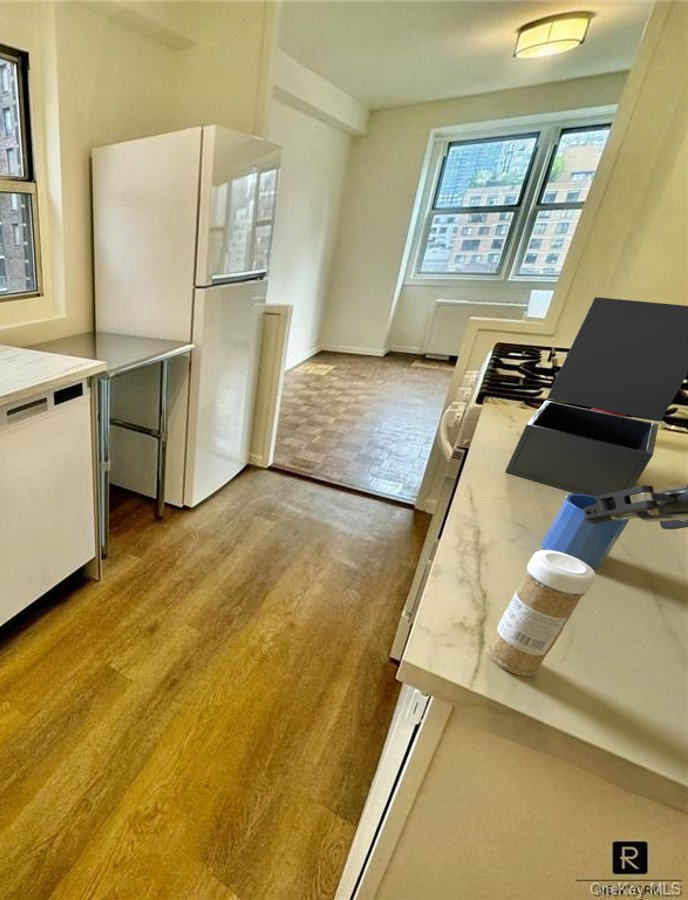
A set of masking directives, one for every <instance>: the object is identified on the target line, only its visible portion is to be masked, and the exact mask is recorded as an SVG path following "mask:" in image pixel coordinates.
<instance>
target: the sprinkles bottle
mask: <svg viewBox="0 0 688 900" xmlns="http://www.w3.org/2000/svg"><path fill="white" fill-rule="evenodd" d="M526 567H527V569H526V574H525V575H524V576H523V578H522V581H521V583H520V585H519V586H518V588H516V591H515V592H514V594H513V595H512V598H511V600H510V602H509V604H508V606H507V607H506V609H505V611H504V613H503V614H502V616H501V619H500V621H499V623H498V625H497V628H496V630H495V631H494V633H493V634H492V637H491V640H490V641H489V642H487V644H486V646H485V651H486V654H487V655H488V657H489V658H490V659H491V660H492V662H493V663H495V664H496V665H497V666H499V667H500V668H501V669H503V670H506V671H507V672H510V673H512V674H515V675H518V676H520V677H521V676H522V677H532V676H536V675H537V674H538V672H539V671H540V666H541V665H542V664H543V661H544V660H545V658H546V657H547V655H548V653H549V652H550V651H551V650H552V649H553V647H554V646H555V644H556V642H557V641H558V639H559V637H560V635H561V634H562V633H563V631H564V627H565V625H566V624H567V623H568V620H569V619H570V617H571V615H572V614H573V612H574V610H575V609H576V607H577V605H578V603H579V601H580V600H581V598H582V597H583V596H585V595H586V593H588V592H589V591H590V589H591V587H592V586H593V584H594V582H595V580H596V577H597V574H596V572H595V570H594V568H591V567H590V566H589V565H587V564H586V563H584V562H583V561H581V560H579V559H577V558H575V557H573V556H570V555H568V554H564V553H561V552H557V551H551V550H545V549H542V550H537V551H536V552H535V553H534V554H533V555H532V557H531V558H530V560H529V561H528V563H527V566H526Z"/></svg>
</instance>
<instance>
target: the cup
mask: <svg viewBox="0 0 688 900" xmlns="http://www.w3.org/2000/svg"><path fill="white" fill-rule="evenodd" d="M595 504H597V502H596V499H595V496H590V495H585V494H576V493H570V494H567V495H566V496H565V498H564V500H563V502H562V504H561V505H560V508H559V510H558V511H557V513H556V515H555V517H554V519H553V521H552V523H551V525H550V527H549V528H548V530H547V532H546V533H545V536H544V537H543V540H542V541H541V546H542V548H543V550H551V551H557V552H561V553H564V554H568V555H570V556H573V557H575V558H577V559H579V560H581V561H583V562H584V563H586V564H587V565H589V566H590V567H591V568H592V569H596V568H597V569H598V568H600V567H601V566H602V564H603V563H604V562H605V560H606V559H607V557H608V556H609V554H610V552H611V551H612V549H613V548H614V545H615V544H616V543H617V541H618V539H619V538H620V536H621V535H622V533H623V531H624V530H625V528H626V526H627V525H628V523H629V521H630V520H631V519H622V520H614V521H609V522H604V523H598V524H589V523H587V522H586V518H585V514H584V508H585V507H586V506H591V505H595Z"/></svg>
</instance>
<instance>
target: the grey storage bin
mask: <svg viewBox="0 0 688 900" xmlns="http://www.w3.org/2000/svg"><path fill="white" fill-rule="evenodd" d="M658 430H659V423H656V422H652V421H647V420H641V419H637V418H632V417H627V416H625V417H623V416H618V415H613V414H609V413H604V412H599V411H594V410H591V408H590V409H589V408H584V407H579V406H575V405H569V404H566V403H560V402H555V401H550V400H545V401H544V402H543V404H542V405H541V406H540V407H539V409H538V410H536V412H535V414H533V416H532V417H531V418H530V420H528V422H527V423H526V425H525V427H524V429H523V431H522V433H521V435H520V437H519V439H518V442H517V444H516V447H515V449H514V451H513V453H512V456H511V457H510V460H509V462H508V464H507V467H506V469H505V471H504V473H505V474H508V475H509V474H510V475H512V476H515V477H519V478H522V479H526V480H529V481H533V482H536V483H539V484H542V485H547V486H549V487H553V488H556V489H558V490H559V489H560V490H562V491H566V492H570V493H571V494H585V495H590V496H595V497H596V496H599V495H604V494H609V493H613V492H617V491H622V490H626V489H631V488H635V487H636V484H637V482H638V481H639V480H640V478H641V476H642V474H643V473H644V471H645V469H646V467H647V466H648V464H649V463H650V461H651V460H652V457H653V456H654V452H655V446H656V441H657V437H658V436H657V435H658Z"/></svg>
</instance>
